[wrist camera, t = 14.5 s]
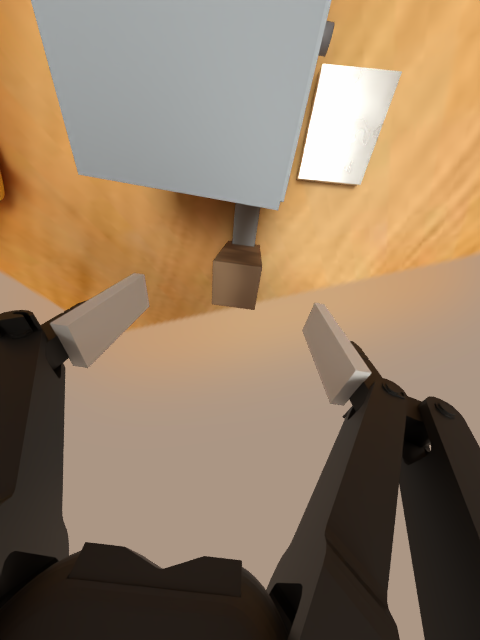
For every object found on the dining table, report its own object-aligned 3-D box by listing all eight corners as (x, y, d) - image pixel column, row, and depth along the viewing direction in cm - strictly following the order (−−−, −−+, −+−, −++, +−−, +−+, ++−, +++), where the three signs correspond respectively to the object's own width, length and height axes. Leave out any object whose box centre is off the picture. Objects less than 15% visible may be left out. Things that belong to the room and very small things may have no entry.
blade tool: (226, 271, 28) (211, 304, 19) (242, 35, 16) (226, -200, 7) (254, 275, 28) (254, 309, 19) (292, 41, 16) (343, -184, 7)
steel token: (295, 180, 22) (298, 178, 20) (316, 76, 17) (322, 63, 16) (353, 186, 21) (360, 184, 20) (389, 83, 17) (401, 71, 16)
